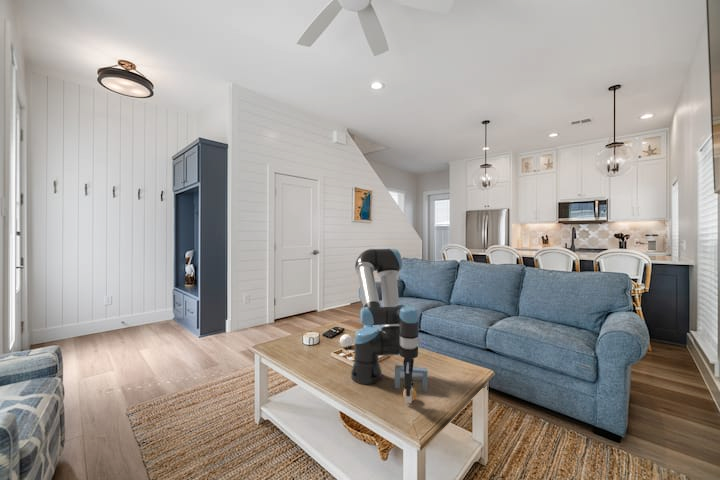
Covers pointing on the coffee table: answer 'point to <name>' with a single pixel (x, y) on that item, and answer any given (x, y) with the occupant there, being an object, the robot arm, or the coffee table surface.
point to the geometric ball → (346, 340)
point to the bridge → (415, 370)
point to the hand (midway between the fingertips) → (408, 401)
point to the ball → (412, 394)
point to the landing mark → (414, 376)
